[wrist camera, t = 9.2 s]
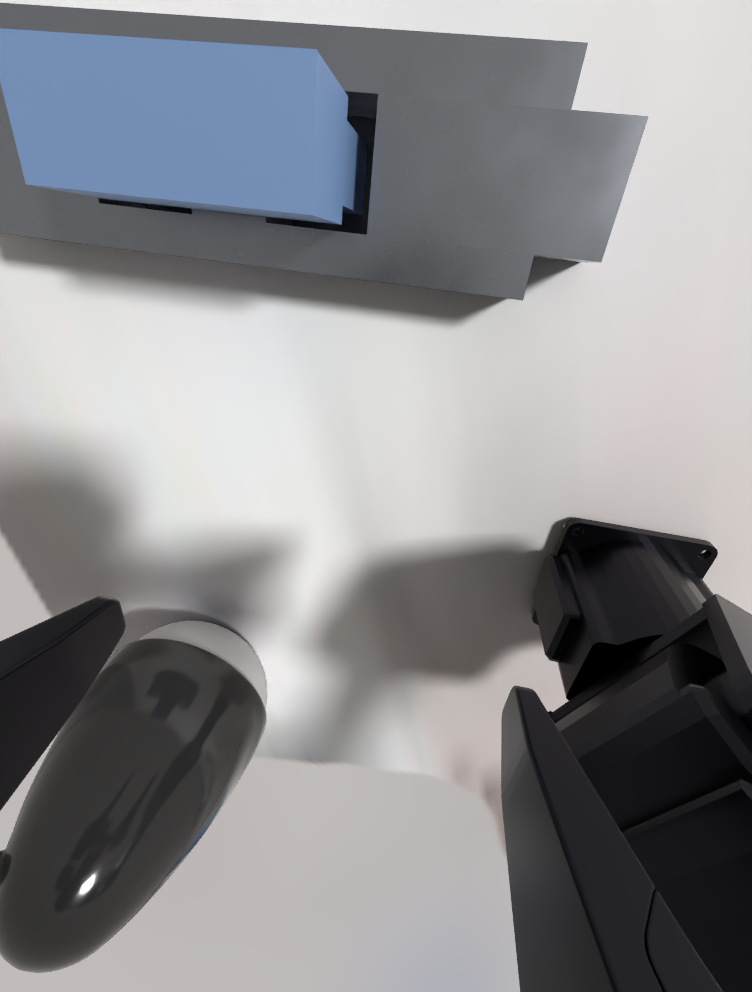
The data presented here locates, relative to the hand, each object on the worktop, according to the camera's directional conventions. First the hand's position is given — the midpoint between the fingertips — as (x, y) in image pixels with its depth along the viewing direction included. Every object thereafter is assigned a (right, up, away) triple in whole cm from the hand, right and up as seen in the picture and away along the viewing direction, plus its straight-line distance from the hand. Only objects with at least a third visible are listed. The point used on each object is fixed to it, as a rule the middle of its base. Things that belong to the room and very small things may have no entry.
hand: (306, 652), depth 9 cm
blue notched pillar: (-3, +15, +6) cm, 17 cm away
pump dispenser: (-9, -7, +20) cm, 23 cm away
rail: (-3, +15, +6) cm, 17 cm away
